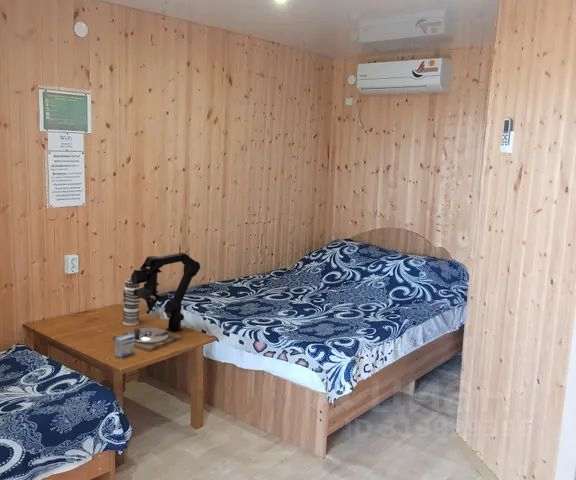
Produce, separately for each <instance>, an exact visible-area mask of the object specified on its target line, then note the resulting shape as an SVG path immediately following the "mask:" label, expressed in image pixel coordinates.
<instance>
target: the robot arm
mask: <svg viewBox="0 0 576 480" xmlns="http://www.w3.org/2000/svg"><path fill="white" fill-rule="evenodd" d="M180 262H181V264H183V265H184V266H183V275H182V278H181V279H180V281H179V284H178V286H177V288H176V291H175V293H174V295H173V297H172V299H171V300H169V295H168V293H167V294H166V293H163V292H161V293H159V290H158V286H159V285H160V284H159V282H158V274H159V273H162V270H161V268H163V267H164V266H166V265H171V264H175V263H180ZM200 270H201V263H200V262H199V261H196V260H195V259H193V258H192V257H190V256H189V255H188V254H187V253H185V252H179V253H174V254H169V255H164V256H163V255H162V256H155V255H154V256H153V255H152V256H147V257H146V258H145V260H144V262H143V264H142V265H141V266H140V268H139V269H134V270H133V272H132V273H131V276H130V277H131V281H132V283H133V284H137V283H140V284H143V286H142V287H140V288H138V289H135V290H134V295H136V296H138V298H140V299H143V300H144V301H145V303H146V306H147V309H148V311H149V312H152V311H153V309H154V307H155V305H156V303H157V302H159V303H163V302H166V304H165V305H164V313H165V315H166V317H167V318H169V319H168V327H167V328H165V329H166V330H165V331H171V332H172V333H177V332H180V331H181V330H183V328H182V326H181V325H182V321H183V320H184V318H185V315H184V314H183V313H181V312H182V302H183V300H184V297H185V296H186V293H187V290H188V288H189V286H190V284H191V282H192V279H193V278H194V277H195V276H197V275H198V273H199V271H200Z"/></svg>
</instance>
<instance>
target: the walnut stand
mask: <svg viewBox="0 0 576 480" xmlns="http://www.w3.org/2000/svg"><path fill="white" fill-rule="evenodd" d="M139 328H156V327H153V326H152V325H144V326H141V327H138V328H137V329H139ZM130 331H131V330H129V331H127V332H123V333H121V334H117V335H114V336H113V337H112V340H114V341H115V338H118V337H122V336H125V335H128V333H129V332H130ZM165 331H166V332H167V333H168V338H167V339H166V340H164V341H162V342H158V343H138V342H134V348H137V349H140V350H142V351H146V352H148V353H149V352H152V351H155V350H157V349H160V348H162V347H165V346H167V345H170V344H172V343H175V342H178V341H180V340H182V339H183V336H182V335H180V334H176V333H175V332H169V331H168V330H165Z"/></svg>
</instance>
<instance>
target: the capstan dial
mask: <svg viewBox="0 0 576 480" xmlns="http://www.w3.org/2000/svg"><path fill="white" fill-rule="evenodd" d="M138 328H139V329H138ZM138 328H135V329H132V330H129V331H130V332H129V331H128V332H129V333H128V335H132V336H134V342H138V343H158V342H162V341H164V340H166V339H167V338H168V333H167V332H168V331H167V330H164V329H161V328H157V327H155V328H141V327H138ZM166 331H167V332H166Z"/></svg>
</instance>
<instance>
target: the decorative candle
mask: <svg viewBox="0 0 576 480" xmlns="http://www.w3.org/2000/svg"><path fill="white" fill-rule="evenodd" d="M124 283H125V284H124V285H125V286H124V289H123V291H122V292H123V293H122V295H123V303H124V307H123V310H122V312H123V313H122V315H123V316H122V321H123V322H122V323H123V325H125V326H137V325H139V321H140V307H139V306H140V302H141V300H140V299H141V298H138V296H136V295H134V290H135V289H138V288H141V286H140V284H141V283H137V284H133V283H132V281H131V276H130V277H127V278H126V279H125V280H124ZM136 324H137V325H136Z"/></svg>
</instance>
